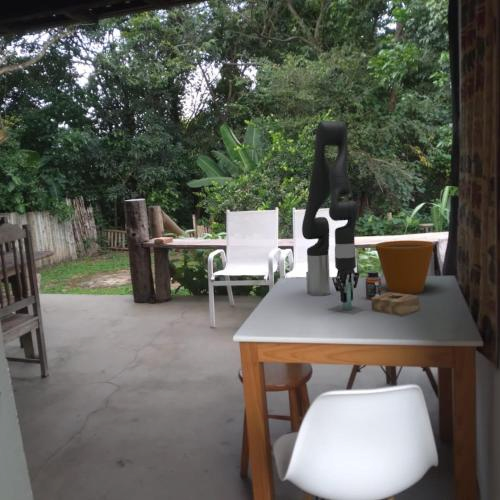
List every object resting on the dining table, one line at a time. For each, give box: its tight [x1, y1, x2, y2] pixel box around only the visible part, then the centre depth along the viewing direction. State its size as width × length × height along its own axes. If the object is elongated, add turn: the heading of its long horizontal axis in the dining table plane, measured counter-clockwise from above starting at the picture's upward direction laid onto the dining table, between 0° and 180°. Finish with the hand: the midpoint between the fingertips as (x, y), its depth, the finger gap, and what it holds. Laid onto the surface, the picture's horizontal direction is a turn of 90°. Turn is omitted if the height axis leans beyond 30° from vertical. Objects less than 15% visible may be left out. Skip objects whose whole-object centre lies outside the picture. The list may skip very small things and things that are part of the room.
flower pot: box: [375, 239, 435, 294], centre depth 208 cm, size 24×24×20 cm
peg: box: [342, 282, 352, 310], centre depth 180 cm, size 3×3×10 cm
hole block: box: [370, 291, 420, 317], centre depth 176 cm, size 12×12×5 cm
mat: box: [327, 304, 368, 315], centre depth 181 cm, size 12×9×1 cm
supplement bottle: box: [365, 270, 382, 301], centre depth 195 cm, size 6×6×11 cm
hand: (346, 301), depth 180 cm, fingers closed on peg, 3 cm apart
